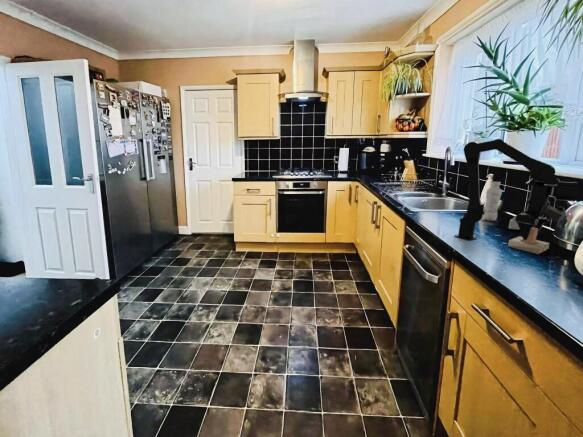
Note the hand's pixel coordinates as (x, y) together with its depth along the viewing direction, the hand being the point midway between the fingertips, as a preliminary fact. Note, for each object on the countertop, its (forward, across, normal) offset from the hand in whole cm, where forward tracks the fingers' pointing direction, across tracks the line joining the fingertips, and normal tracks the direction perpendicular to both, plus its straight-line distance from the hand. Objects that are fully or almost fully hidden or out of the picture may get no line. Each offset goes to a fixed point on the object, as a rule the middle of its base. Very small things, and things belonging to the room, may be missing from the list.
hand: (529, 237), depth 123 cm
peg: (+4, 0, 0) cm, 4 cm away
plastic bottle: (+4, +33, +29) cm, 44 cm away
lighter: (+4, +28, +14) cm, 32 cm away
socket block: (+4, 0, 0) cm, 4 cm away
